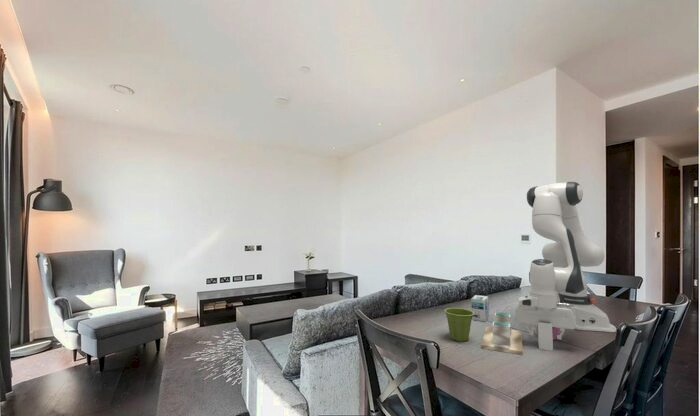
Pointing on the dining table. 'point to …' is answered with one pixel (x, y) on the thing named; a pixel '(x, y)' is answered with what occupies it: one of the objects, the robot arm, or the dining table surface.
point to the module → (545, 335)
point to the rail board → (513, 342)
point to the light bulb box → (480, 307)
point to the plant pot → (459, 323)
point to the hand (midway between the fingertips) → (544, 337)
